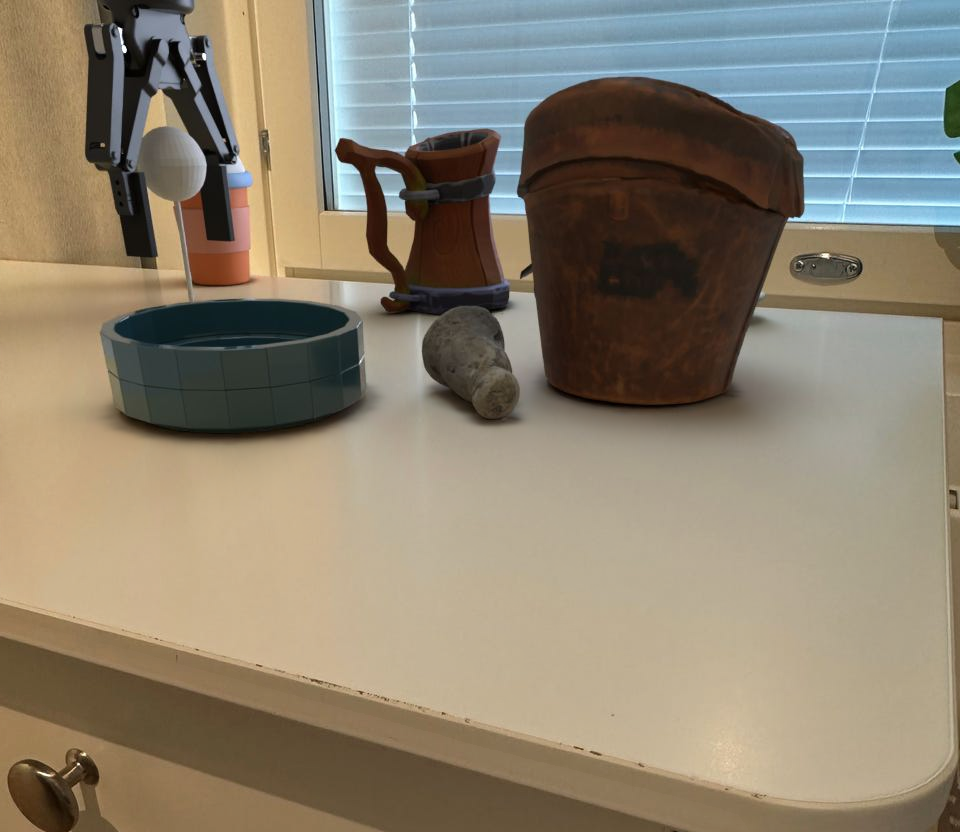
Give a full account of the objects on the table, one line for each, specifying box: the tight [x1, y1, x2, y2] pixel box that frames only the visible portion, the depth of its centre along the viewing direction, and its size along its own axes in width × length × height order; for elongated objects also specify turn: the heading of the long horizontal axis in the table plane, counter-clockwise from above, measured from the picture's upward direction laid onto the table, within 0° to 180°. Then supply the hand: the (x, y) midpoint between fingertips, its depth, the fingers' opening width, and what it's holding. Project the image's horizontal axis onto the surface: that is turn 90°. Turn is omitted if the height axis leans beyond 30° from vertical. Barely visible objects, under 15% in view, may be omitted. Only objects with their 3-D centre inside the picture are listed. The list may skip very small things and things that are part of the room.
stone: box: [421, 306, 521, 420], centre depth 57 cm, size 10×5×8 cm
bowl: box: [99, 297, 367, 434], centre depth 56 cm, size 16×16×5 cm
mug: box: [334, 128, 511, 315], centre depth 81 cm, size 18×12×15 cm, turn 132°
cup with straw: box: [172, 155, 254, 286], centre depth 93 cm, size 9×9×18 cm
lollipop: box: [136, 125, 207, 302], centre depth 81 cm, size 6×6×15 cm
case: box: [516, 76, 806, 406], centre depth 58 cm, size 18×20×18 cm
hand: (184, 248), depth 82 cm, fingers open, 11 cm apart
